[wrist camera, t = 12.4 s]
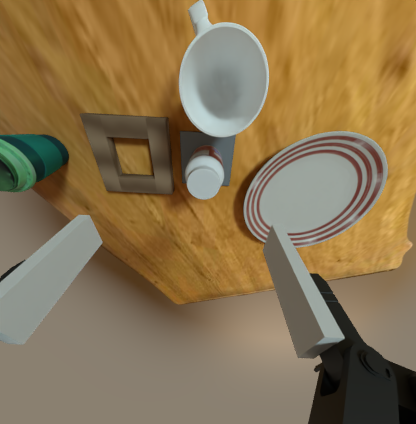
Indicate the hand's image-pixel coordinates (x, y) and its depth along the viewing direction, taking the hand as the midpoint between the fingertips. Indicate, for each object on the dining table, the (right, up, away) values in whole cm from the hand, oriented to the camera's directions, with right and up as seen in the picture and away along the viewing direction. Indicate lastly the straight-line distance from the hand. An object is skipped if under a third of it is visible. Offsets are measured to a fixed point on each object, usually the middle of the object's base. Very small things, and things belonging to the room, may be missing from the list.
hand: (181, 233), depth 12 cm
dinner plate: (+23, +5, +24) cm, 34 cm away
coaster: (+2, +12, +20) cm, 23 cm away
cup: (-28, +14, +19) cm, 37 cm away
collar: (-12, +13, +20) cm, 26 cm away
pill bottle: (+2, +12, +19) cm, 23 cm away
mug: (+3, +22, +13) cm, 26 cm away
